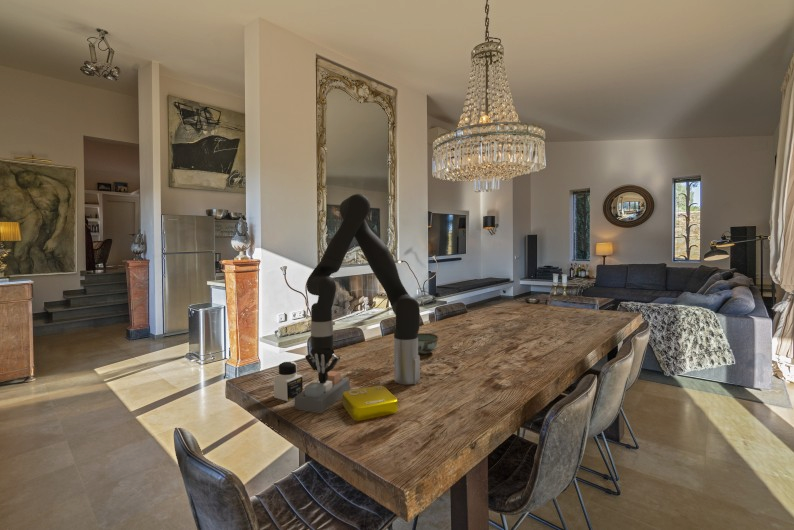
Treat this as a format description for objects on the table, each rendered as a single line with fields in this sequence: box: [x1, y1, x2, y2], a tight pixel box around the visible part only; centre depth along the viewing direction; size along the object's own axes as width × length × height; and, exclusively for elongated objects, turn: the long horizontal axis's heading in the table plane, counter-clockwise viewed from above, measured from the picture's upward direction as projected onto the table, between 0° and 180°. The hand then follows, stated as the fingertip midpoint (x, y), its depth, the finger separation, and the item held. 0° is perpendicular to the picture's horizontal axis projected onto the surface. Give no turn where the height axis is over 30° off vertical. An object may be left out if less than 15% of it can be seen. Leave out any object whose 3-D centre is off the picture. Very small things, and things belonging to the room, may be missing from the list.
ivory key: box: [316, 380, 332, 391], centre depth 133 cm, size 4×4×4 cm
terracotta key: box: [327, 370, 341, 385], centre depth 139 cm, size 4×4×4 cm
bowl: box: [418, 332, 439, 355], centre depth 187 cm, size 14×13×8 cm
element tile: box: [342, 384, 399, 422], centre depth 126 cm, size 15×15×5 cm
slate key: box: [304, 381, 324, 398], centre depth 128 cm, size 4×4×4 cm
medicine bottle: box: [273, 360, 304, 402], centre depth 136 cm, size 7×7×12 cm
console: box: [294, 377, 351, 414], centre depth 134 cm, size 10×20×4 cm, turn 161°
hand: (323, 382), depth 133 cm, fingers closed
